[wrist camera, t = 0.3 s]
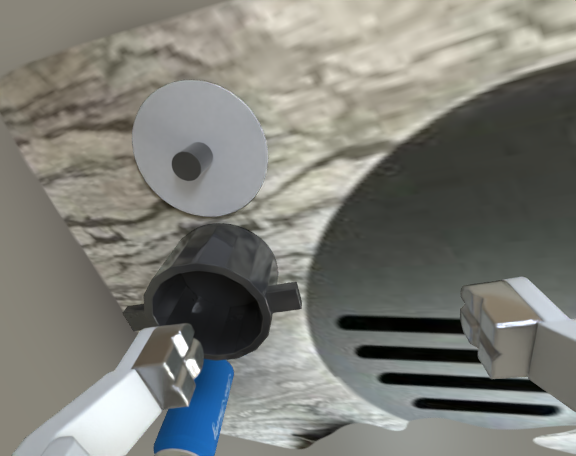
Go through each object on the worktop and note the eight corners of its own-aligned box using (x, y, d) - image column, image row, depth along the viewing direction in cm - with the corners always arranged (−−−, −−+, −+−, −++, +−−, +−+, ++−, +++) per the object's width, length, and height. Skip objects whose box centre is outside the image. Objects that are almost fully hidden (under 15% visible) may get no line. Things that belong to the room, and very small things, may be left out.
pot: (135, 237, 33) (93, 279, 27) (288, 209, 31) (283, 248, 24) (176, 317, 38) (149, 368, 32) (310, 298, 36) (311, 350, 29)
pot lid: (114, 97, 27) (79, 103, 23) (248, 63, 25) (236, 62, 21) (168, 221, 32) (148, 244, 28) (282, 200, 30) (278, 221, 26)
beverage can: (240, 379, 43) (218, 480, 33) (197, 382, 44) (162, 482, 34) (227, 346, 40) (199, 446, 30) (181, 350, 41) (138, 449, 31)
